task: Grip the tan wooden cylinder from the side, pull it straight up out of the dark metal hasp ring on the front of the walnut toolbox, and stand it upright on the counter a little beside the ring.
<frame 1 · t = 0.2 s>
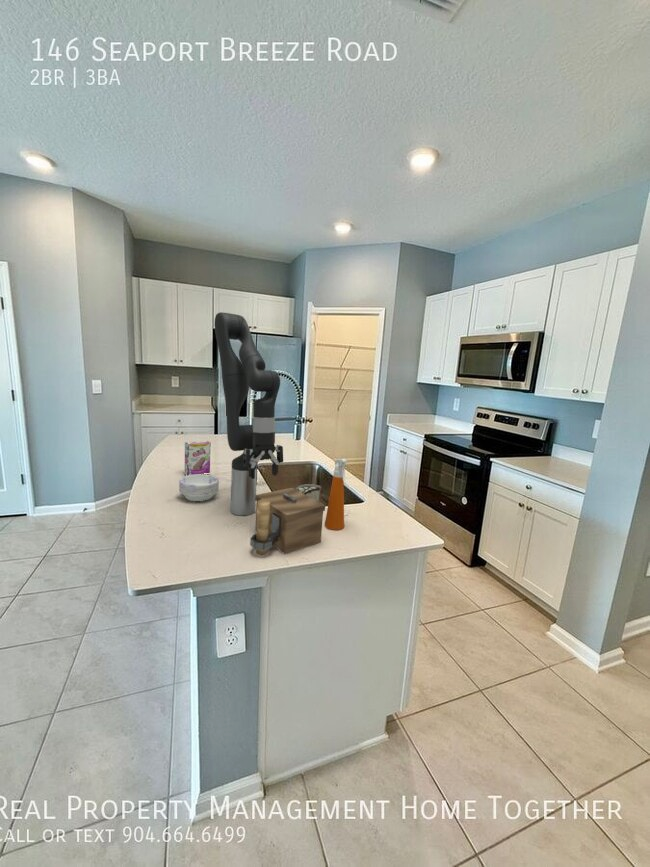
hand: (263, 476, 122), 18 cm above the countertop, tool pointing down, fingers open, 8 cm apart
food container: (303, 511, 139), on the countertop
tan wooden cylinder: (261, 551, 107), on the countertop
spray bottle: (335, 528, 126), on the countertop
hasp: (265, 531, 107), point 6 cm above the countertop
candy bar box: (197, 475, 173), on the countertop
toolbox: (287, 536, 118), on the countertop
paper bowls: (199, 498, 145), on the countertop
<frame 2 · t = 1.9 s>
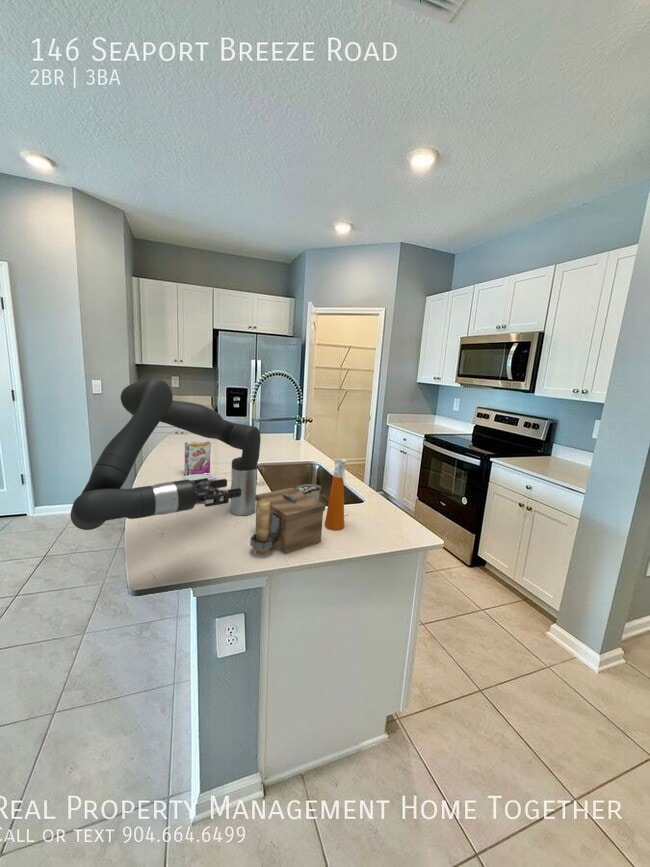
hand: (233, 487, 97), 22 cm above the countertop, tool horizontal, fingers open, 8 cm apart
nothing on the countertop moved.
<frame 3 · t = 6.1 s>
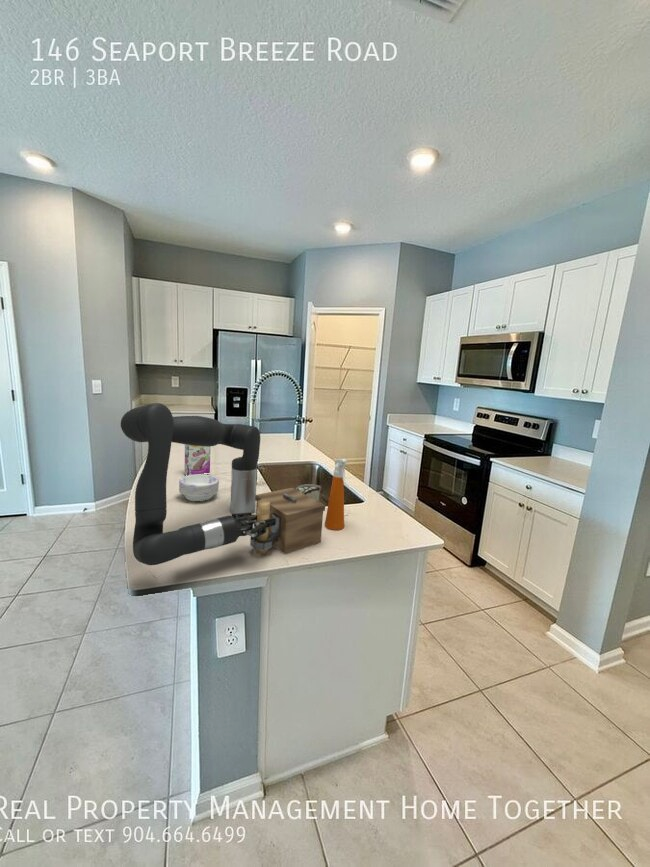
hand: (271, 518, 107), 10 cm above the countertop, tool horizontal, fingers closed on tan wooden cylinder, 3 cm apart
tan wooden cylinder: (261, 551, 107), on the countertop, touching gripper
everything else where it was.
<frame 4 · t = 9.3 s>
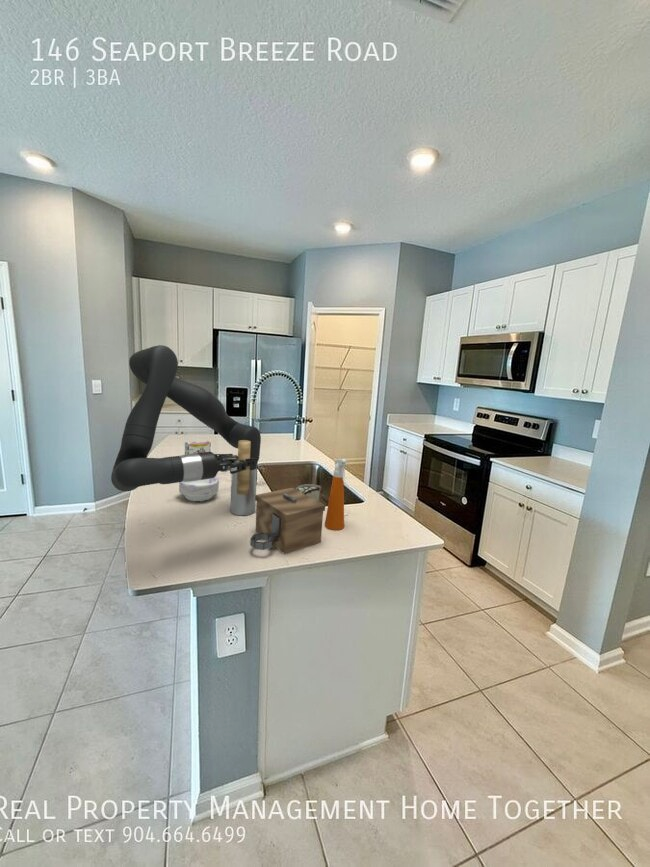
hand: (252, 459, 108), 27 cm above the countertop, tool horizontal, fingers closed on tan wooden cylinder, 3 cm apart
tan wooden cylinder: (242, 492, 108), point 17 cm above the countertop, touching gripper
everything else where it was.
when the fingers open (11 cm above the countertop, at t = 12.6 s): tan wooden cylinder drops 1 cm, on the countertop.
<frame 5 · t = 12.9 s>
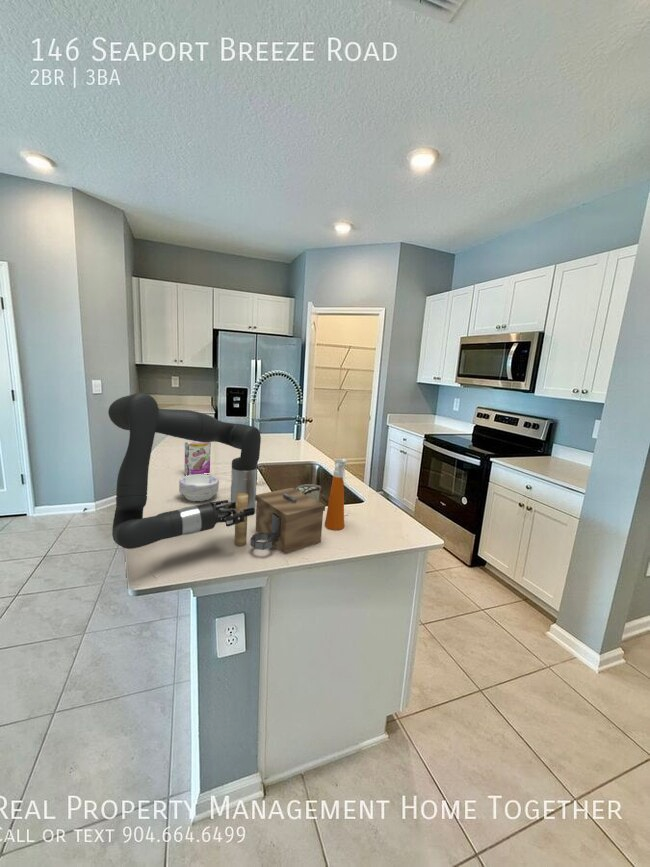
hand: (248, 507, 111), 12 cm above the countertop, tool horizontal, fingers open, 6 cm apart
tan wooden cylinder: (240, 543, 111), on the countertop
everything else where it was.
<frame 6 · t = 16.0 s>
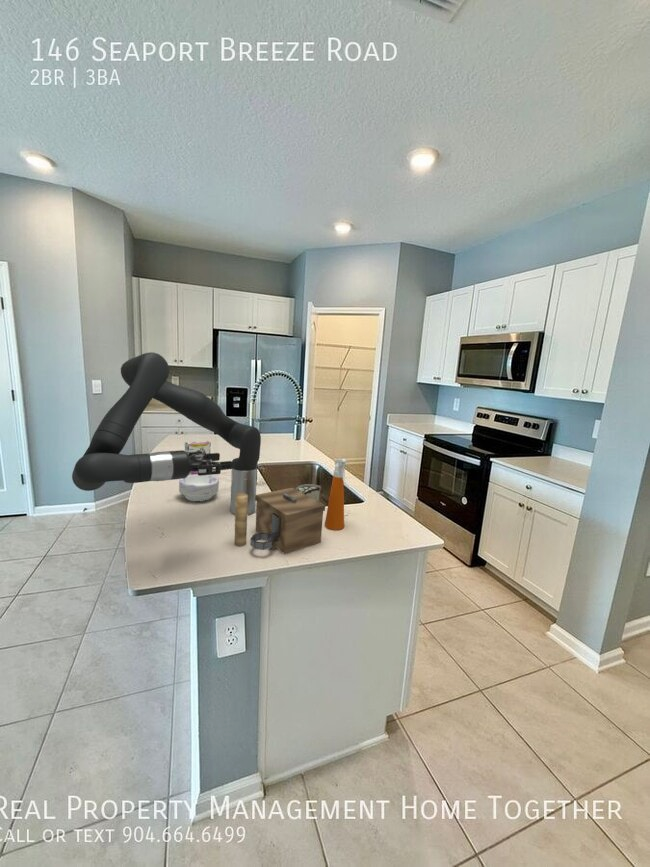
hand: (225, 460, 103), 28 cm above the countertop, tool horizontal, fingers open, 8 cm apart
nothing on the countertop moved.
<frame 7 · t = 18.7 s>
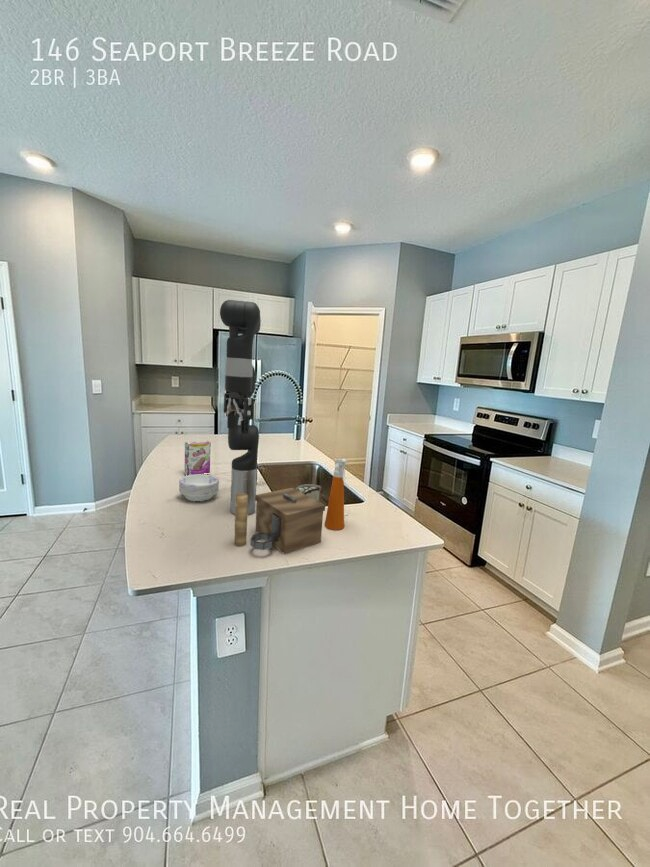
hand: (237, 430, 103), 36 cm above the countertop, tool pointing down, fingers open, 8 cm apart
nothing on the countertop moved.
at the end: tan wooden cylinder inside the target area (0.1 cm from its centre), on the countertop; tan wooden cylinder tilted 0°; the gripper is holding nothing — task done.
